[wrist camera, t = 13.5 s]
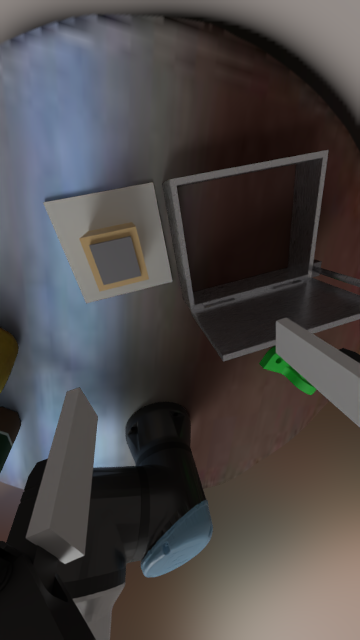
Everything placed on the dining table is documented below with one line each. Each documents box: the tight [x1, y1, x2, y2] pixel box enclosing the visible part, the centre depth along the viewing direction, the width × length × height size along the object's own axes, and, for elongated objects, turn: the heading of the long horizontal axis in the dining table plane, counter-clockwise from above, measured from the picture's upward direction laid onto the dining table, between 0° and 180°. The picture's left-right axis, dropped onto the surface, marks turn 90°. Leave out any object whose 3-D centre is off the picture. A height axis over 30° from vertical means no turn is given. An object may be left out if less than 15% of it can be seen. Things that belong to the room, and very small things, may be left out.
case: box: [162, 150, 360, 361], centre depth 28 cm, size 23×18×17 cm
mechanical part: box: [259, 346, 316, 395], centre depth 49 cm, size 12×6×8 cm, turn 64°
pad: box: [44, 182, 173, 303], centre depth 31 cm, size 14×14×1 cm
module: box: [79, 222, 149, 292], centre depth 28 cm, size 6×6×9 cm
